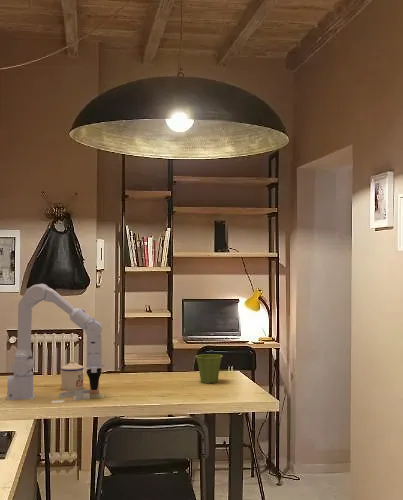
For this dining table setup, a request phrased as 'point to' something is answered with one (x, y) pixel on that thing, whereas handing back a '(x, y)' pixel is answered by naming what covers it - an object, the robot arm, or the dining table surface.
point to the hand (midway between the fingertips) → (94, 388)
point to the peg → (94, 392)
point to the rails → (76, 394)
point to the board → (63, 400)
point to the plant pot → (209, 367)
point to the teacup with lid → (72, 376)
